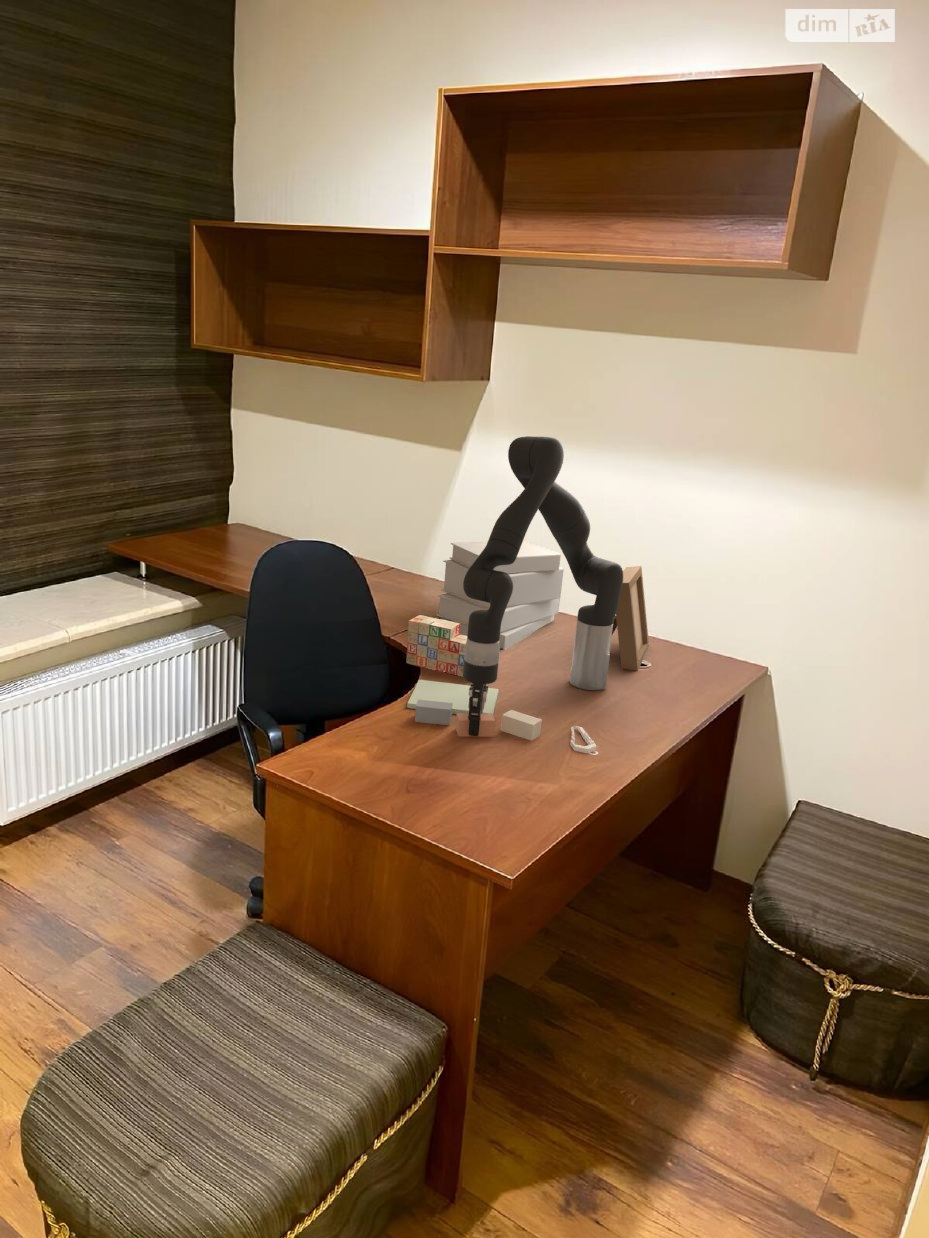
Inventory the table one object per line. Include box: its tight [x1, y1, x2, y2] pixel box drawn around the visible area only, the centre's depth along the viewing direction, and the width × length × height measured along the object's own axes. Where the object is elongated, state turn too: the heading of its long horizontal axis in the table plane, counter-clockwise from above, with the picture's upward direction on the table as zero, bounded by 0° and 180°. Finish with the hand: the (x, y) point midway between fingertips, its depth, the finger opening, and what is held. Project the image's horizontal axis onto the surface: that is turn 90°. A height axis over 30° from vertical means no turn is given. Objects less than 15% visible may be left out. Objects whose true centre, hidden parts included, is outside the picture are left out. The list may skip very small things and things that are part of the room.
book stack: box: [435, 539, 564, 651], centre depth 276 cm, size 30×35×26 cm
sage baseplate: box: [406, 679, 499, 716], centre depth 224 cm, size 20×16×1 cm
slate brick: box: [414, 700, 453, 726], centre depth 212 cm, size 8×4×4 cm, turn 86°
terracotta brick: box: [455, 713, 496, 737], centre depth 207 cm, size 8×4×4 cm, turn 100°
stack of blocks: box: [405, 614, 467, 678], centre depth 243 cm, size 21×6×12 cm, turn 64°
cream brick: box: [500, 709, 543, 742], centre depth 209 cm, size 8×4×4 cm, turn 57°
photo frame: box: [612, 565, 650, 672], centre depth 261 cm, size 15×22×25 cm
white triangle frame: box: [569, 725, 599, 756], centre depth 207 cm, size 13×5×2 cm, turn 12°
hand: (474, 729), depth 207 cm, fingers open, 5 cm apart
